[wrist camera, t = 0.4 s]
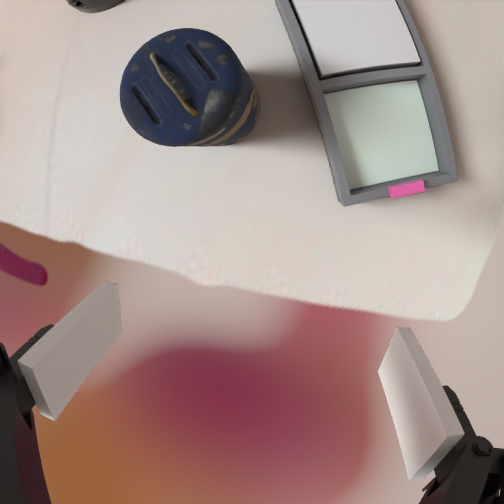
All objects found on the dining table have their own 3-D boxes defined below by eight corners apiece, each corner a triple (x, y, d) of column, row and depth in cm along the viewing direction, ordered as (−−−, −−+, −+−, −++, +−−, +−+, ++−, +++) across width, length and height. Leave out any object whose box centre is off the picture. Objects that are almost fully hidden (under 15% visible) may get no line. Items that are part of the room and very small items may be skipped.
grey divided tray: (275, 2, 29) (273, -16, 24) (383, -11, 26) (393, -28, 21) (338, 201, 36) (346, 209, 32) (443, 177, 34) (463, 182, 29)
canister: (245, 62, 32) (211, -4, 15) (272, 131, 35) (260, 113, 18) (174, 91, 34) (93, 57, 17) (198, 158, 37) (129, 168, 20)
